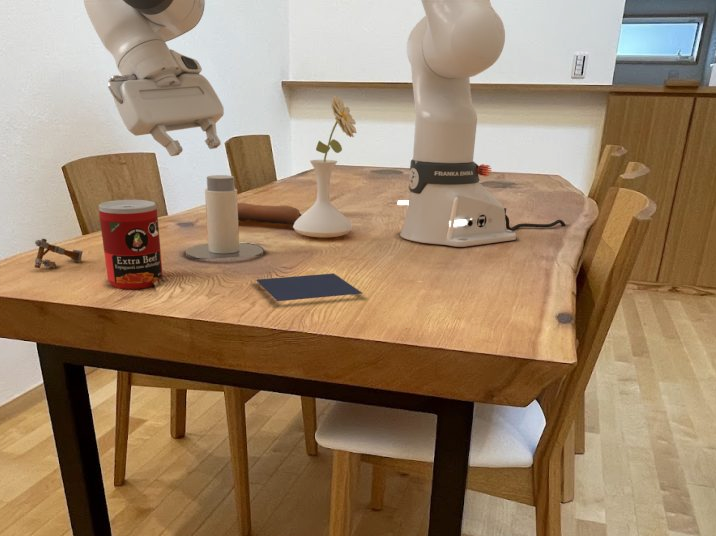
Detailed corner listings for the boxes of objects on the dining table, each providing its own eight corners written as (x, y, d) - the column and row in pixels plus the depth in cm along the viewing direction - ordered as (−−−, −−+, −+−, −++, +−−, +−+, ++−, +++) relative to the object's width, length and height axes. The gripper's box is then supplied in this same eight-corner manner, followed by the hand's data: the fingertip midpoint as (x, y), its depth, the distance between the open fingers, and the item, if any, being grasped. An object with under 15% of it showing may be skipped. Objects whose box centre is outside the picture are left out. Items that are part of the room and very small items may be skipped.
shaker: (235, 246, 115) (232, 174, 110) (242, 252, 111) (239, 178, 106) (205, 248, 113) (201, 175, 108) (211, 254, 109) (207, 179, 104)
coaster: (252, 243, 120) (252, 240, 120) (272, 259, 109) (272, 256, 109) (180, 248, 116) (179, 244, 115) (193, 265, 104) (192, 261, 104)
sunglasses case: (313, 221, 139) (308, 195, 133) (304, 243, 135) (298, 218, 129) (235, 215, 143) (227, 190, 138) (223, 237, 139) (215, 212, 134)
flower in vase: (323, 244, 120) (325, 95, 110) (280, 235, 127) (278, 93, 117) (369, 235, 129) (375, 95, 119) (327, 226, 136) (329, 94, 126)
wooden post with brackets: (26, 265, 99) (32, 235, 98) (69, 276, 106) (75, 248, 106) (34, 267, 98) (40, 237, 98) (77, 277, 105) (83, 250, 105)
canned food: (113, 292, 90) (103, 210, 86) (103, 278, 96) (93, 201, 92) (169, 286, 93) (162, 206, 89) (156, 272, 100) (148, 198, 95)
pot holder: (333, 278, 99) (333, 273, 98) (362, 298, 89) (362, 293, 89) (255, 284, 95) (255, 279, 94) (277, 306, 85) (277, 300, 85)
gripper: (112, 63, 97) (162, 146, 99) (204, 60, 113) (246, 133, 114) (92, 89, 101) (141, 169, 103) (184, 83, 117) (224, 153, 118)
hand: (197, 150), depth 109 cm, fingers open, 8 cm apart
